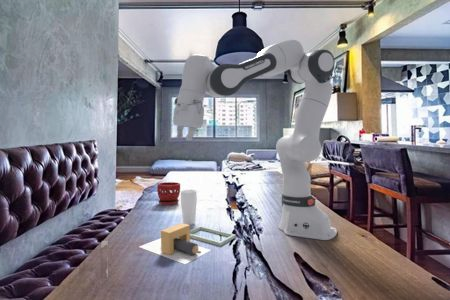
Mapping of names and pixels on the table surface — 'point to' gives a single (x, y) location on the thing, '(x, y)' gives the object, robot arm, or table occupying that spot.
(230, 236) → the green rectangular frame
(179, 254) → the station
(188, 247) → the battery
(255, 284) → the table surface
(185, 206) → the drinking glass
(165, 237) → the wooden bridge piece
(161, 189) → the plant pot
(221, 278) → the table surface
